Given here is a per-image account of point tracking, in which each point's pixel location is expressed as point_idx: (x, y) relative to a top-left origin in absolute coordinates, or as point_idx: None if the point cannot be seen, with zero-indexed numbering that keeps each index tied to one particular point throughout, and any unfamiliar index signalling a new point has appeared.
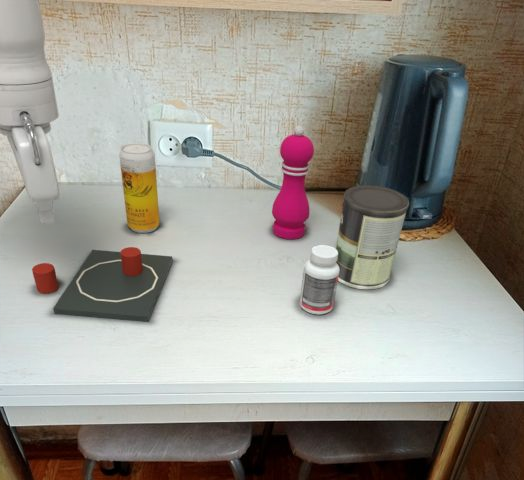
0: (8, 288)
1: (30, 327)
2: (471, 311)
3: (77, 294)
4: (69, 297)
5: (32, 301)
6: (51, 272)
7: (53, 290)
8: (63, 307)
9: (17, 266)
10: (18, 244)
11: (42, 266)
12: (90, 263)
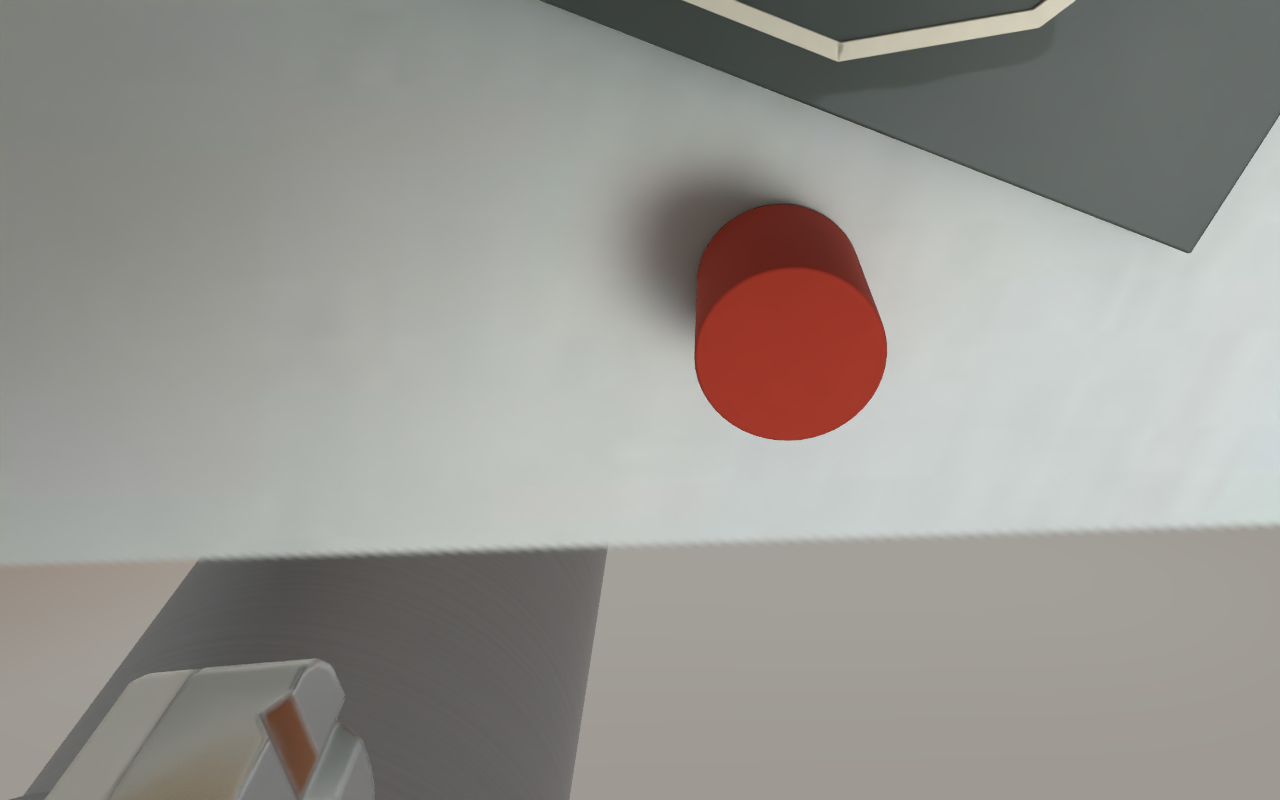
0: (712, 526)
1: (1270, 389)
2: None
3: (1055, 53)
4: (1077, 124)
5: (933, 382)
6: (860, 287)
7: (851, 244)
8: (1218, 175)
9: (414, 483)
10: (78, 485)
11: (757, 363)
12: None
